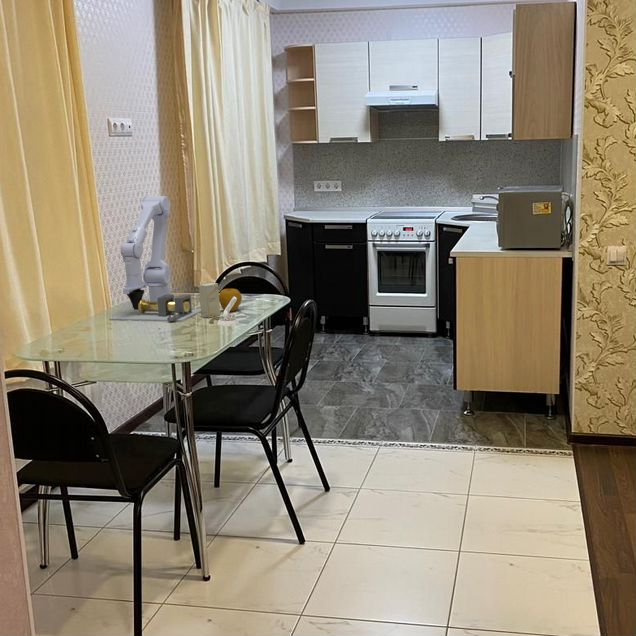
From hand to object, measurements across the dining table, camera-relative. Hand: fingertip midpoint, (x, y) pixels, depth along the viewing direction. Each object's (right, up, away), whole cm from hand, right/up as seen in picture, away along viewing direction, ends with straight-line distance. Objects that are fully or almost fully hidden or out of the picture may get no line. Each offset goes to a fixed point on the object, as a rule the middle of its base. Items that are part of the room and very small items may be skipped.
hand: (137, 309), depth 316 cm
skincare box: (+29, -3, -7) cm, 30 cm away
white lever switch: (+37, -6, -22) cm, 44 cm away
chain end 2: (+18, -3, -9) cm, 20 cm away
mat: (+8, -2, -2) cm, 8 cm away
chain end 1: (+13, -1, 0) cm, 13 cm away
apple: (+36, -1, +1) cm, 36 cm away
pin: (+11, -2, -3) cm, 12 cm away
